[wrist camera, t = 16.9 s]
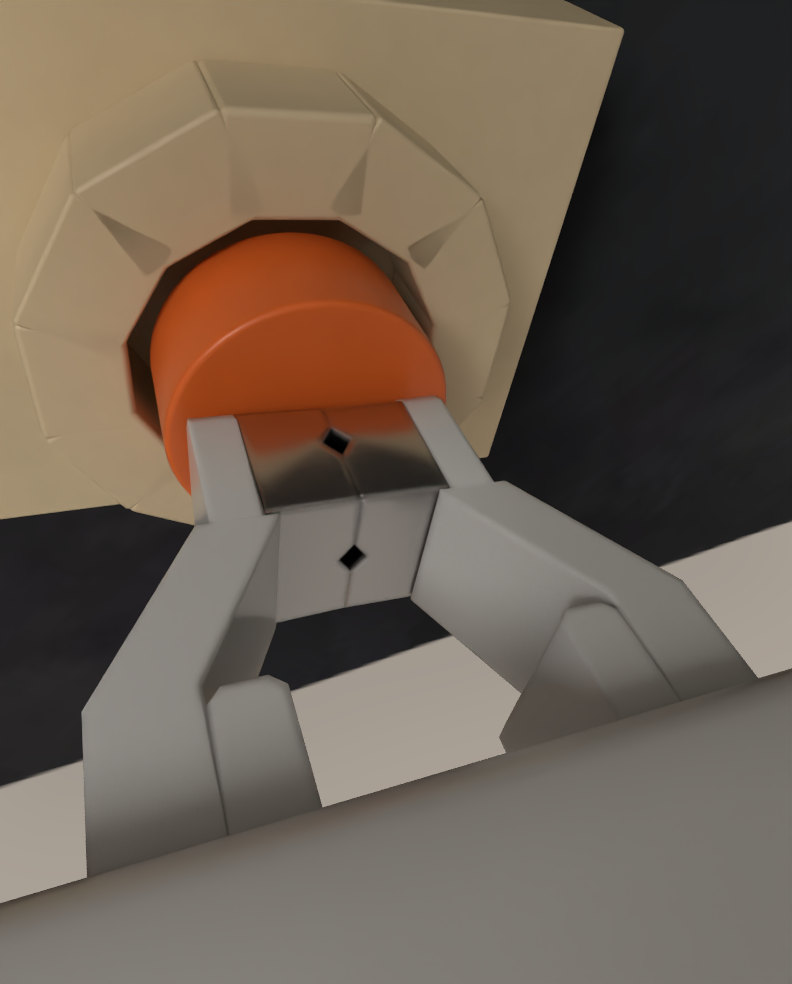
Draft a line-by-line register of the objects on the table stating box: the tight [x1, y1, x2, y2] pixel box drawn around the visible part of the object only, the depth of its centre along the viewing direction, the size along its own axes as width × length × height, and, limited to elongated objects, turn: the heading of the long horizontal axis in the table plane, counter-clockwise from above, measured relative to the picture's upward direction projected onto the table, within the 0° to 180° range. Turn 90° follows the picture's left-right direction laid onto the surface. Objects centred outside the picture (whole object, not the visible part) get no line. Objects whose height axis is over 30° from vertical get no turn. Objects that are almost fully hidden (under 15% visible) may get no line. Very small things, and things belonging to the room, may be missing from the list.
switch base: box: [0, 0, 624, 525], centre depth 11 cm, size 10×8×4 cm
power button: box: [150, 232, 446, 497], centre depth 9 cm, size 4×4×2 cm
